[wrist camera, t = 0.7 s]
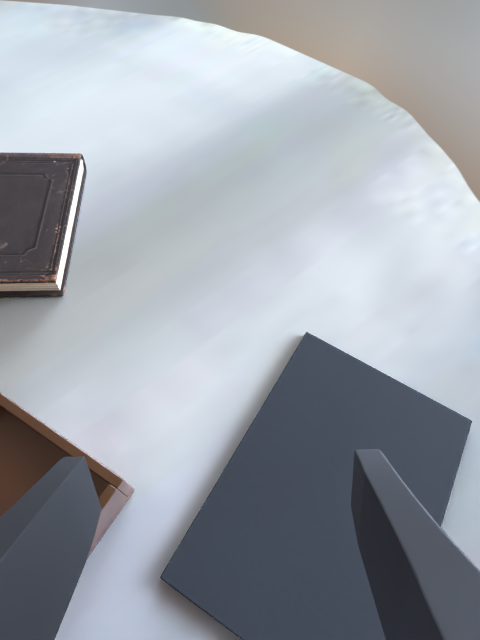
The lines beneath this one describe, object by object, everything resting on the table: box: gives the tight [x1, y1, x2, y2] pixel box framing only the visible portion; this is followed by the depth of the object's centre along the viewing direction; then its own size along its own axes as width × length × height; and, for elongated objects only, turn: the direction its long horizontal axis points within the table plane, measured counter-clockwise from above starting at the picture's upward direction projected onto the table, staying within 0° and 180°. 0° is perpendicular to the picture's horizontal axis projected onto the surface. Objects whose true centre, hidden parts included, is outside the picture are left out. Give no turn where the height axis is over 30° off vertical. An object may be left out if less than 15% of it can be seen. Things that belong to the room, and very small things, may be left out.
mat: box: [160, 332, 472, 640], centre depth 28 cm, size 20×14×1 cm
